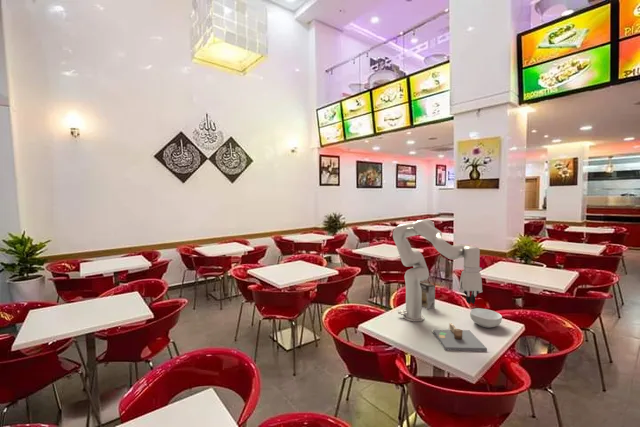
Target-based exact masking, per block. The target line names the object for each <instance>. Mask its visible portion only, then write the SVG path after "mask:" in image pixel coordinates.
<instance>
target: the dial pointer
mask: <svg viewBox="0 0 640 427" xmlns="http://www.w3.org/2000/svg"><path fill="white" fill-rule="evenodd" d="M448 327H449V329H448V330H451V331H452V332H453V333H454V338H455V339H459V340H460V339H462V332H463V331H462V330H463V329H460V328H457V327H456V326H455V325H454V324H453V323H452V322H449V326H448Z"/></svg>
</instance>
